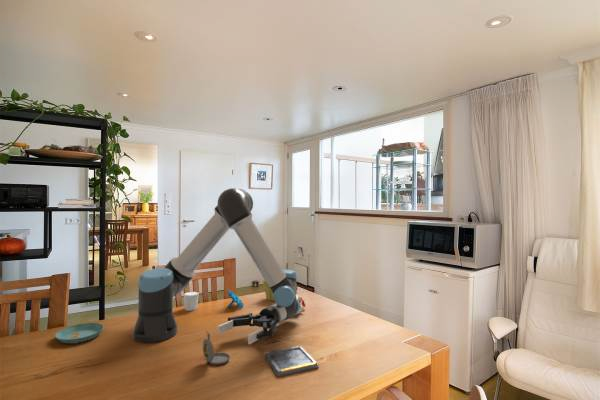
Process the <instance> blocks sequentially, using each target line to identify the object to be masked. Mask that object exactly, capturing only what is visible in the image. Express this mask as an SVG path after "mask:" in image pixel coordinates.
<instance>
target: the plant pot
mask: <svg viewBox="0 0 600 400" xmlns="http://www.w3.org/2000/svg"><path fill="white" fill-rule="evenodd" d="M262 286H263V288H264V292H265V296H266V300H267V301H272V302H275V301H274V294H273V293H272V291H271V289H270V288H269V286H268V284H267V283H266V281H265V279H264V278H263V280H262Z"/></svg>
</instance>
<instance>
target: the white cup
mask: <svg viewBox="0 0 600 400" xmlns="http://www.w3.org/2000/svg"><path fill="white" fill-rule="evenodd" d="M199 294H200V292H198V291H187V292H185V293H183V305H184V306H183V307H184V311H190V312H191V311H192V312H193V311H196V310H197V309H198V304H199Z"/></svg>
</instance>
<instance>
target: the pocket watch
mask: <svg viewBox="0 0 600 400" xmlns="http://www.w3.org/2000/svg"><path fill="white" fill-rule="evenodd" d="M205 333H206V335H207V337H206V338H205V339H204V340H203V343H202V352H203V356H204V359H205V361H206V362H207V363H209V364H211V365H223V364H225V363H228V361H230V358H231V356H230V354H229V353H226V352H216V353H215V351H214V350H215V349H214V345H213V343H212V341H211V339H210V338H211V335H210V333H209V331H206V332H205Z"/></svg>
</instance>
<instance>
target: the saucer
mask: <svg viewBox="0 0 600 400" xmlns="http://www.w3.org/2000/svg"><path fill="white" fill-rule="evenodd" d="M104 328H105V325H104V324H102V323H98V322H86V323H79V324H78V323H77V324H75V325H70V326H67V327H65V328H63V329H60V330H58V332H56V333H55V335H54V337H55V338H56V339H57V341H60V342H61V343H63V344H67V343H74V344H79V342H81V343H84V341H85V342H88V341H90V339H91V340H93V339H94V338H96V337H98V336H99V335H100V334H101V333H102V331H103V330H104ZM78 331H79V334H78V336H77V335H72V334H71V333H74V332H78ZM74 336H77V337H78V338H74V339H73V338H71V337H74ZM87 340H88V341H87Z"/></svg>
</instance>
